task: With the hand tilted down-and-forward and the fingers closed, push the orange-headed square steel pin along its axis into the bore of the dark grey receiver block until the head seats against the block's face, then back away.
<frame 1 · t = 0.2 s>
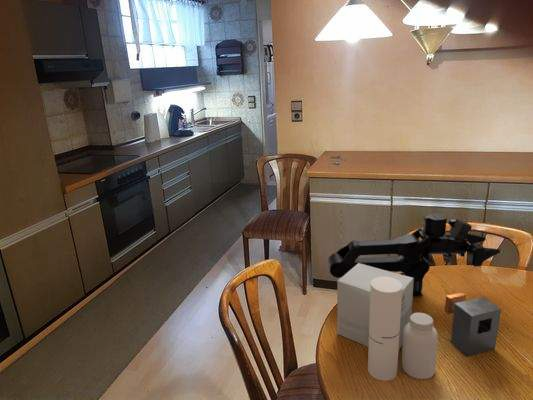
hand: (492, 244, 127), 17 cm above the table, tool horizontal, fingers open, 9 cm apart
cylindrical container: (382, 370, 100), on the table
pin: (463, 309, 109), point 8 cm above the table, slide at 4.0 cm
supplement box: (373, 334, 114), on the table
pill bottle: (417, 369, 100), on the table
receiver block: (472, 345, 107), on the table
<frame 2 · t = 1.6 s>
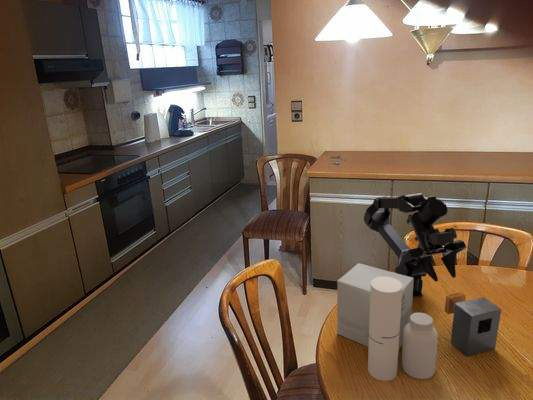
hand: (445, 279, 114), 14 cm above the table, tool tilted 45°, fingers open, 6 cm apart
nothing on the table moved.
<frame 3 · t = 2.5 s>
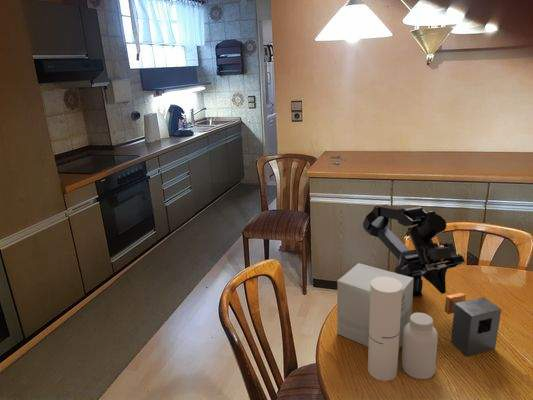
hand: (443, 293, 116), 9 cm above the table, tool tilted 45°, fingers closed
nothing on the table moved.
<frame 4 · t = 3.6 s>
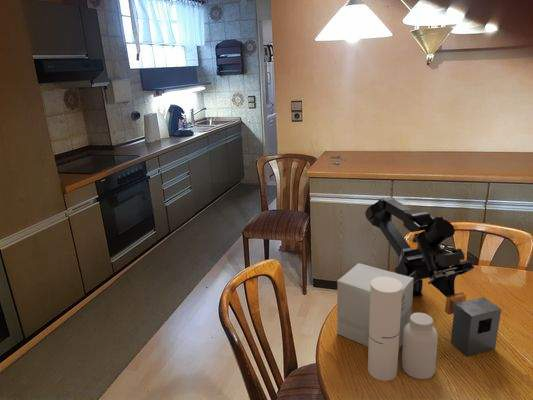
hand: (453, 301, 112), 9 cm above the table, tool tilted 45°, fingers closed, pressing on pin
pin: (464, 310, 108), point 8 cm above the table, slide at 3.8 cm, touching gripper
everything else where it was.
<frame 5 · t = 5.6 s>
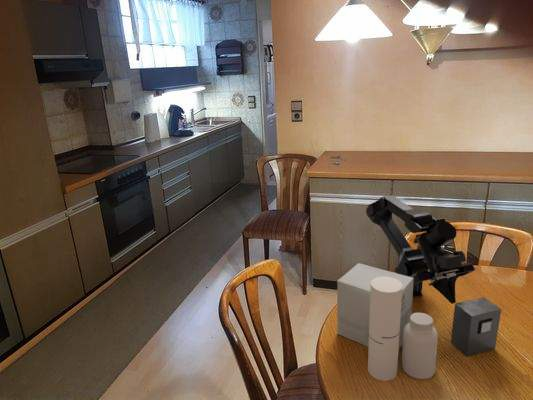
hand: (453, 303, 112), 8 cm above the table, tool tilted 45°, fingers closed
pin: (474, 318, 105), point 8 cm above the table, slide at 0.0 cm
everything else where it was.
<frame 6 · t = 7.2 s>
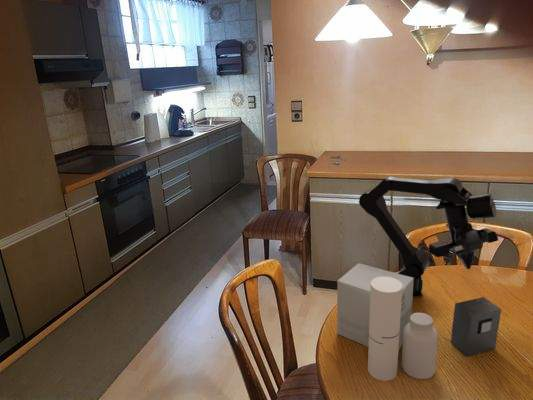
hand: (468, 268, 120), 13 cm above the table, tool tilted 15°, fingers closed
nothing on the table moved.
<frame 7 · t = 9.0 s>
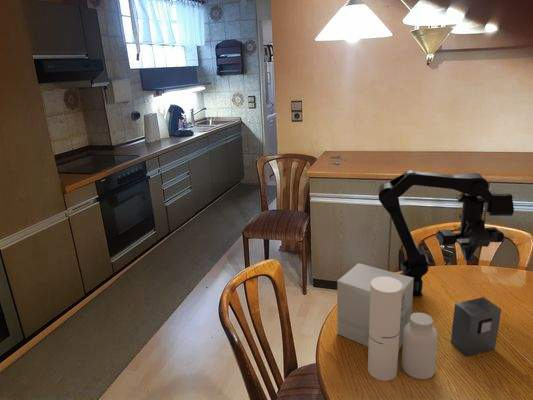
hand: (466, 260, 125), 13 cm above the table, tool pointing down, fingers closed
nothing on the table moved.
at the end: pin slide at 0.0 cm; the gripper is holding nothing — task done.
